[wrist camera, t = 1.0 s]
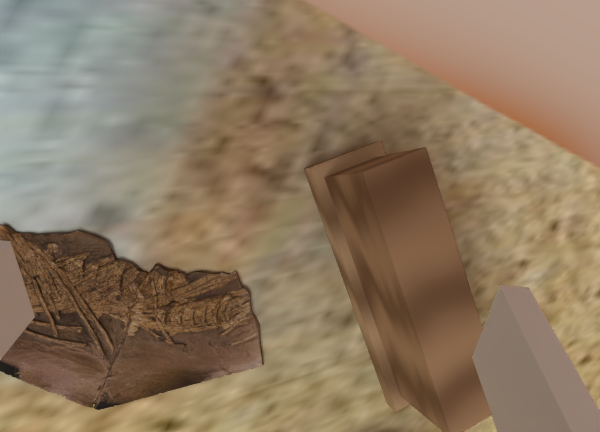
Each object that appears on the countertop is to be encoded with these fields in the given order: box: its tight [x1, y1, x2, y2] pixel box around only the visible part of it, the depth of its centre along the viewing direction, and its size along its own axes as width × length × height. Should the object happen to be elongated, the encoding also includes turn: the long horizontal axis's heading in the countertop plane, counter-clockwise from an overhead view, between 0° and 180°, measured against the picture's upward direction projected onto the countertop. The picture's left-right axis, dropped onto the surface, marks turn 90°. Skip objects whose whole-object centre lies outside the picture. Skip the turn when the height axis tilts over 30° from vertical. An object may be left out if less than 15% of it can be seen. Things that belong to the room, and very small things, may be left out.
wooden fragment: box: [0, 225, 264, 410], centre depth 29 cm, size 26×11×1 cm, turn 73°
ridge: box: [304, 141, 492, 432], centre depth 32 cm, size 20×6×8 cm, turn 21°
